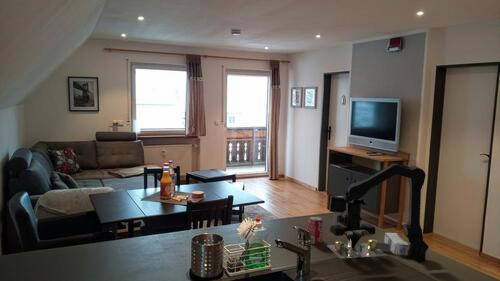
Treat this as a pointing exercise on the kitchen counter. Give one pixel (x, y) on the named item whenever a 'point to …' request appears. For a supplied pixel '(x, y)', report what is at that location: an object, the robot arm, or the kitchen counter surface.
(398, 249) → the syrup box
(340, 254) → the base plate
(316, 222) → the soda can
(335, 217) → the skincare box
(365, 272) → the kitchen counter surface
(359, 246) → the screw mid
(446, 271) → the kitchen counter surface
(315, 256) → the kitchen counter surface
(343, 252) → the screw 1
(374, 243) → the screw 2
